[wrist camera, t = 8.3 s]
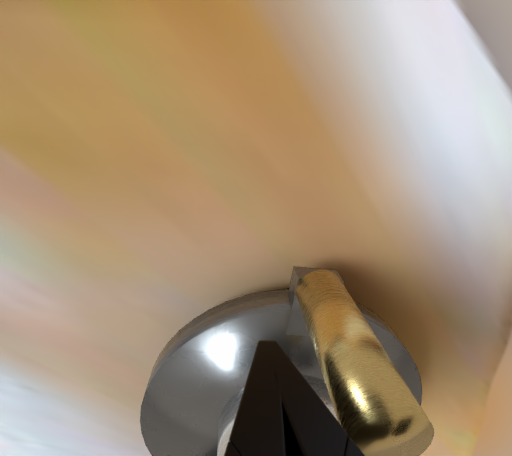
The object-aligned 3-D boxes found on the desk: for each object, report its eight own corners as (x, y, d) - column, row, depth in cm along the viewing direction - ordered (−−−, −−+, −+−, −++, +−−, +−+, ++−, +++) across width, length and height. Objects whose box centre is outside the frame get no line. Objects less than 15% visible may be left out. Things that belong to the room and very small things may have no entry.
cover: (332, 461, 17) (350, 524, 14) (214, 462, 16) (210, 529, 13) (363, 375, 14) (391, 434, 12) (224, 371, 13) (221, 433, 11)
